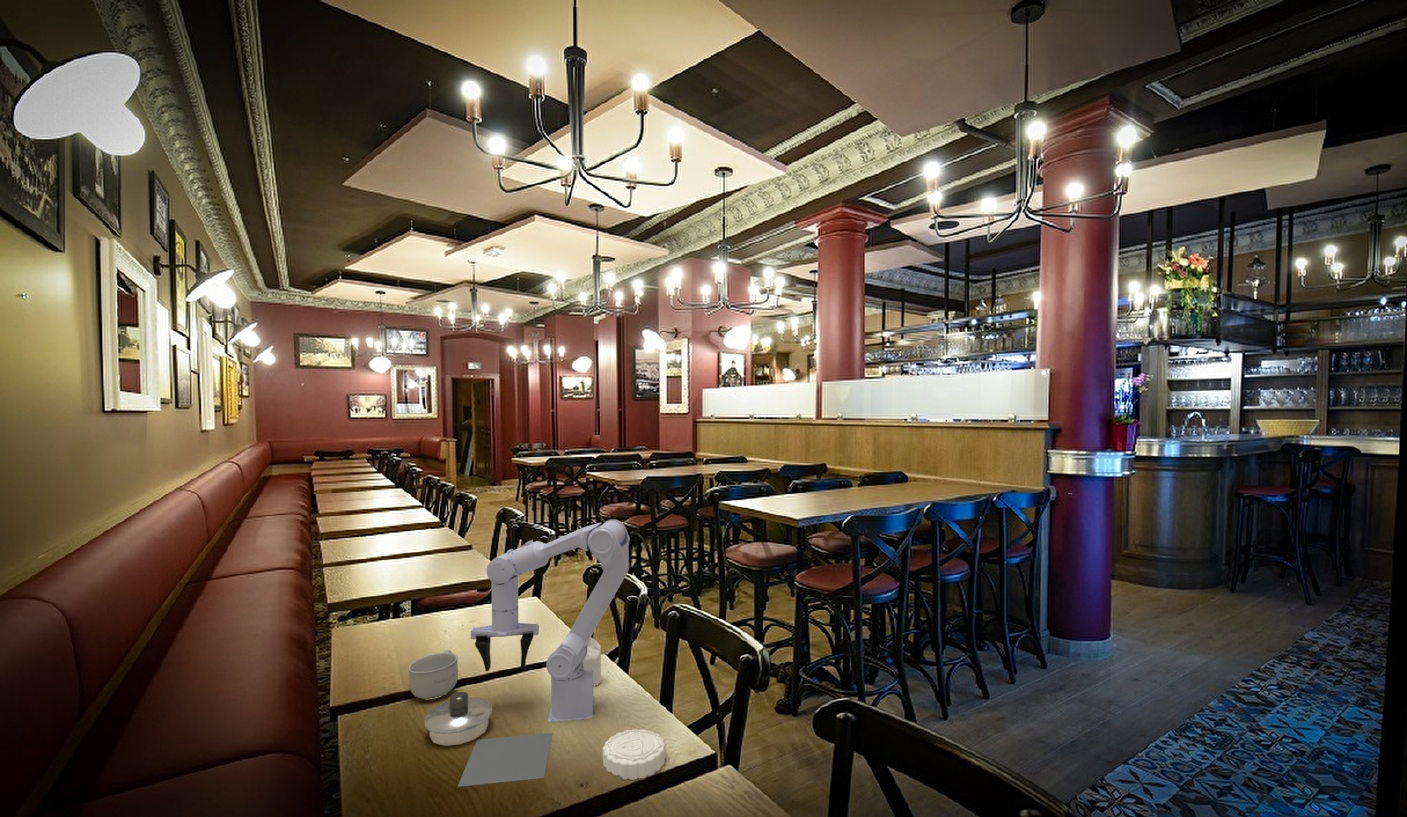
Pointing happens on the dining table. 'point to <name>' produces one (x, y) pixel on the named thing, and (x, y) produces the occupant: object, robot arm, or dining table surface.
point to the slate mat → (507, 760)
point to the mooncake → (634, 754)
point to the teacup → (433, 675)
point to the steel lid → (458, 714)
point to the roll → (593, 660)
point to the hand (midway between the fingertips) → (505, 668)
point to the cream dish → (459, 735)
